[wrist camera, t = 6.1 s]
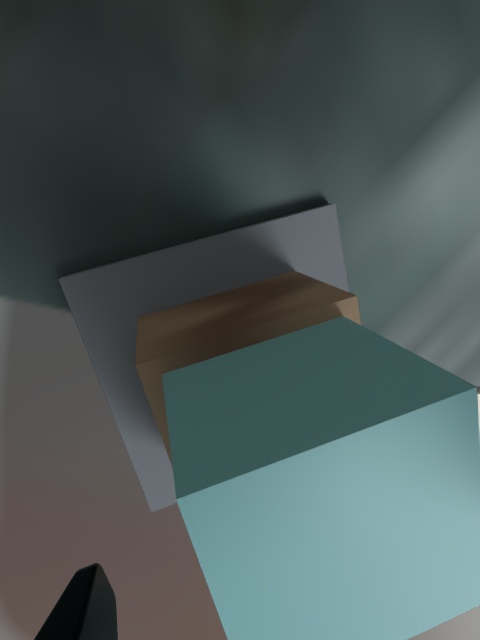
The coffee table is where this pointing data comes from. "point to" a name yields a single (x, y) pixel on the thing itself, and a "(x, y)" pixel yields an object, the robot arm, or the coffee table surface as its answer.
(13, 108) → the coffee table surface
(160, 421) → the walnut brick
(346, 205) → the coffee table surface
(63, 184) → the coffee table surface
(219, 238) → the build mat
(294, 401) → the teal brick
